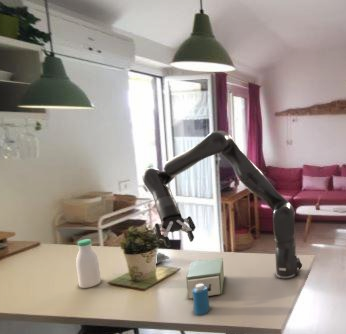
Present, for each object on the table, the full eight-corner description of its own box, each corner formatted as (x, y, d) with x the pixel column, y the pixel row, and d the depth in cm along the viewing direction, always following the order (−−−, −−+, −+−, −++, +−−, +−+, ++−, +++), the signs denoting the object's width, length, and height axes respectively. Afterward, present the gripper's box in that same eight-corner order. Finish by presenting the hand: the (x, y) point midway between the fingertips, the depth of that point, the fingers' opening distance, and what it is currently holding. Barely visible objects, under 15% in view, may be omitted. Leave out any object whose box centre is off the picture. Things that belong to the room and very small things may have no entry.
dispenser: (221, 293, 138) (220, 272, 136) (188, 298, 134) (186, 277, 133) (224, 277, 152) (222, 257, 150) (193, 281, 148) (191, 261, 147)
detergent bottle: (210, 306, 129) (207, 280, 127) (208, 313, 124) (206, 287, 122) (195, 308, 128) (193, 282, 126) (193, 316, 123) (191, 289, 121)
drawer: (219, 299, 132) (217, 282, 130) (187, 304, 129) (185, 286, 127) (222, 278, 149) (220, 262, 147) (194, 282, 146) (192, 266, 144)
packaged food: (156, 256, 174) (155, 247, 173) (170, 261, 168) (169, 252, 167) (139, 263, 167) (138, 253, 166) (153, 268, 161) (151, 259, 160)
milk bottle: (103, 283, 147) (97, 240, 144) (81, 290, 142) (74, 245, 138) (98, 277, 152) (93, 236, 149) (77, 284, 147) (71, 241, 143)
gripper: (150, 207, 130) (163, 244, 124) (187, 201, 140) (201, 234, 134) (147, 218, 134) (159, 253, 128) (183, 210, 144) (196, 243, 139)
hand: (181, 243), depth 131 cm, fingers open, 8 cm apart
